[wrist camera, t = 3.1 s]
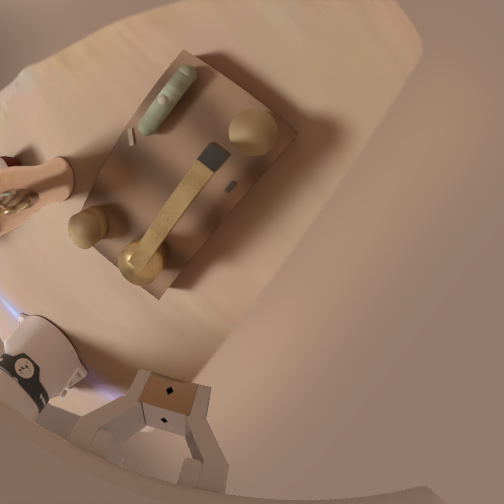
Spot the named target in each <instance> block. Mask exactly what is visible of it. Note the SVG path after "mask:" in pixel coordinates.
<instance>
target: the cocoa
mask: <svg viewBox="0 0 504 504" xmlns="http://www.w3.org/2000/svg"><path fill="white" fill-rule="evenodd" d="M12 166H20V163H19V162H18V161H17V160H16V159H15V158H13V157H7V156H2V157H0V169H1V168H5V167H12Z"/></svg>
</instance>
